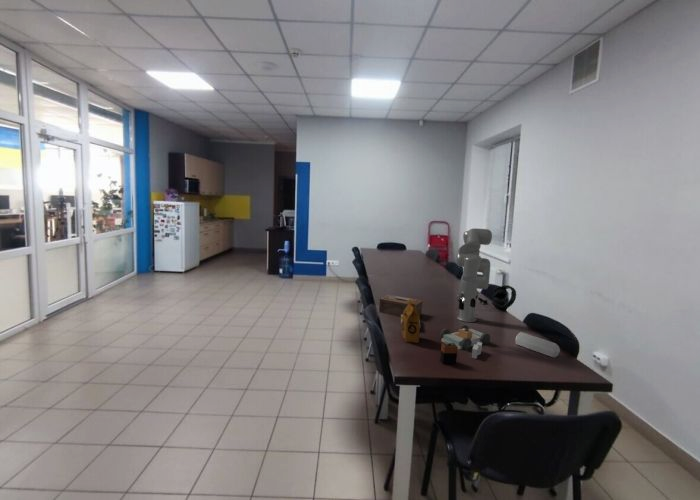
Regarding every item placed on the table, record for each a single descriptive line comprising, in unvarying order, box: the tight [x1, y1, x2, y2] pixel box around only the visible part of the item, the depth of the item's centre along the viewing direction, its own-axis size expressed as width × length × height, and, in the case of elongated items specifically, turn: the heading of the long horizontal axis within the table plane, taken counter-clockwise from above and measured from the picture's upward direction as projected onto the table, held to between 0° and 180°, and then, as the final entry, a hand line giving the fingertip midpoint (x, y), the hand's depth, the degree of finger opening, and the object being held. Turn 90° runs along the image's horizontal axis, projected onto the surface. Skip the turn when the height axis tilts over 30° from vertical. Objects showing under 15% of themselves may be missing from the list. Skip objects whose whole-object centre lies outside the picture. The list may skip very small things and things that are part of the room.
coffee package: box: [401, 298, 421, 344], centre depth 212 cm, size 10×12×22 cm
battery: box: [439, 342, 458, 365], centre depth 184 cm, size 4×7×10 cm, turn 98°
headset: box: [477, 284, 517, 310], centre depth 286 cm, size 18×14×29 cm
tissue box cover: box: [378, 294, 423, 318], centre depth 261 cm, size 26×14×10 cm, turn 61°
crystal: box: [515, 331, 561, 358], centre depth 206 cm, size 7×7×24 cm
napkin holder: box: [471, 342, 483, 360], centre depth 196 cm, size 15×11×6 cm
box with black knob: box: [458, 328, 473, 339], centre depth 213 cm, size 6×4×6 cm
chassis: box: [439, 324, 491, 351], centre depth 213 cm, size 24×17×6 cm
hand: (466, 308), depth 214 cm, fingers open, 9 cm apart
